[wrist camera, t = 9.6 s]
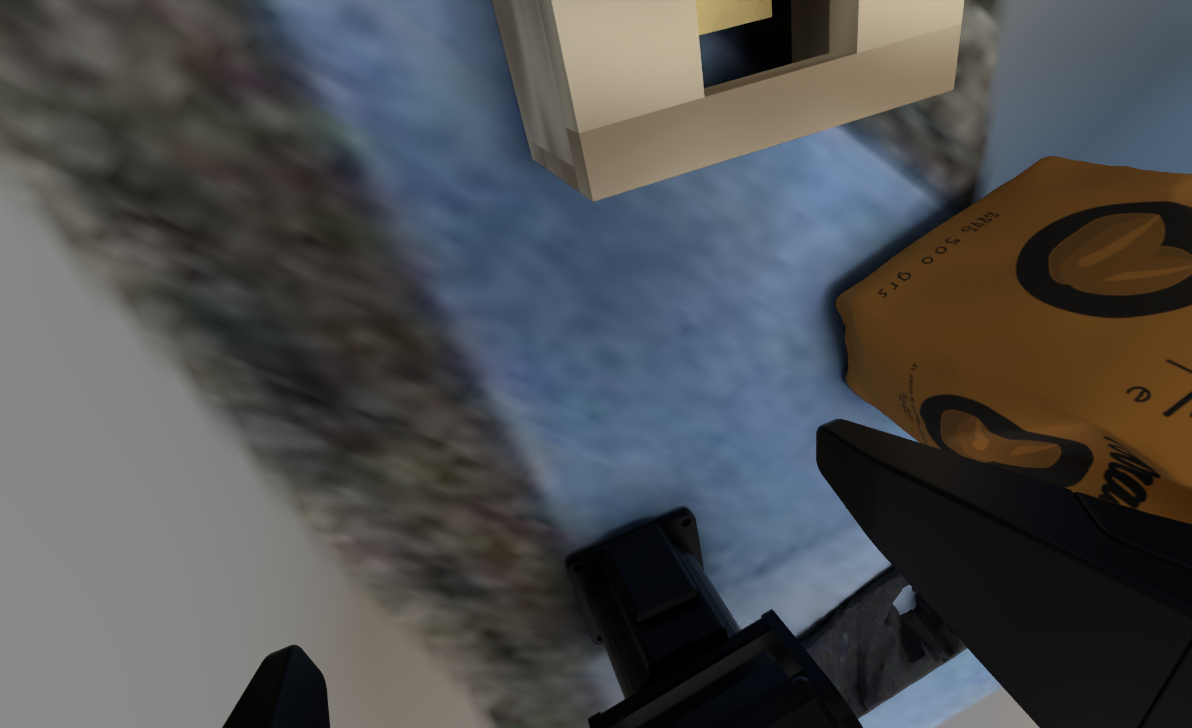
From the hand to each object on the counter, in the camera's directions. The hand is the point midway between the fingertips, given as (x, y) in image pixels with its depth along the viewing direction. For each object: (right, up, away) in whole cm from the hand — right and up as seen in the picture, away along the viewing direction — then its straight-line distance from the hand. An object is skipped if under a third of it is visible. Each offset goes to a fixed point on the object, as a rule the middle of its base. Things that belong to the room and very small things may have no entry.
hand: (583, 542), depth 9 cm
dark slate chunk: (+17, -18, +32) cm, 40 cm away
